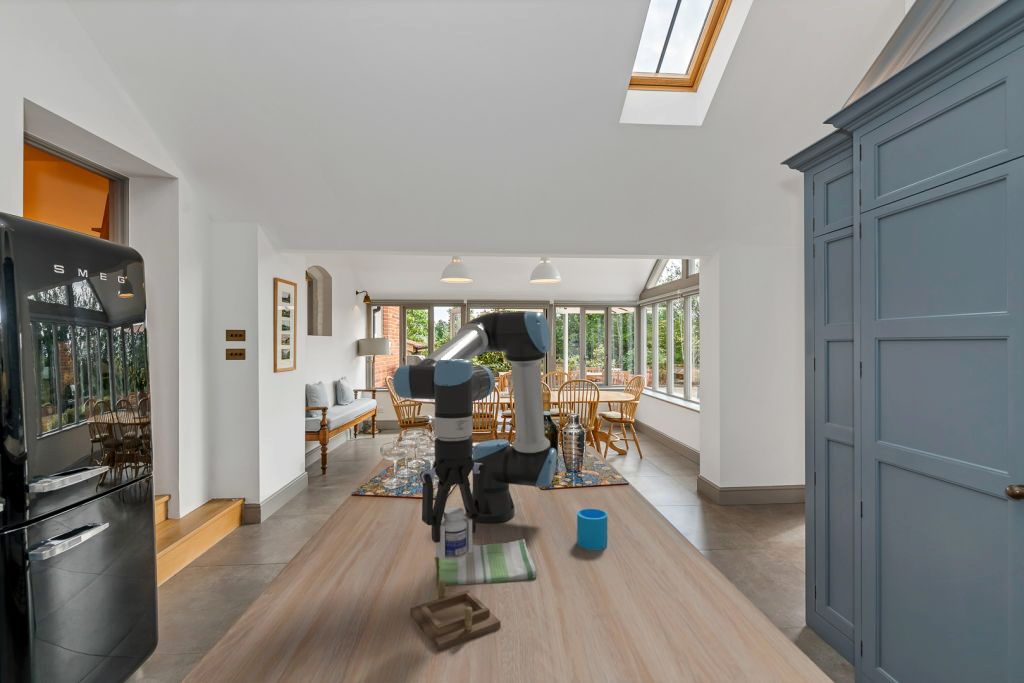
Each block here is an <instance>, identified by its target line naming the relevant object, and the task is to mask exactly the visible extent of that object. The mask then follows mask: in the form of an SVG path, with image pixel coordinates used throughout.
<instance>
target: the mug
mask: <svg viewBox="0 0 1024 683" xmlns="http://www.w3.org/2000/svg"><path fill="white" fill-rule="evenodd" d="M576 543H577V545H578V546H579V547H580V548H583V549H586V550H592V551H594V550H595V551H597V550H599V551H600V550H603V549H605V548H606V547H608V513H607V512H606V511H604V510H602V509H598V508H582V509H579V510H577V513H576Z"/></svg>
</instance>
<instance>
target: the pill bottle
mask: <svg viewBox="0 0 1024 683" xmlns="http://www.w3.org/2000/svg"><path fill="white" fill-rule="evenodd" d="M464 510H465V509H463V508H462V507H458V506H455V507H454V506H452V507H447V508H445V510H444V514H443V520H442V522H441V523H442V524H443V525H444V526H445V559H447V560H458V559H461V558H463V557H465V556H466V554H467V522H466V521H465V520H464V519H463V518H464V516H465V512H464Z"/></svg>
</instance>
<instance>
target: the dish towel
mask: <svg viewBox="0 0 1024 683" xmlns="http://www.w3.org/2000/svg"><path fill="white" fill-rule="evenodd" d="M537 575H538V574H537V570H536V566H535V564H534V561H533V559H532V557H531V554H530V552H529V550H528V548H527V544H526V540H525V538H523V539H518V540H513V541H509V542H504V543H503V542H502V543H489V544H483V545H482V544H481V545H476V544H475V545H473V544H472V552H470V553H469V552H467V554H466V556H465V557H463V558H461V559H458V560H447V559H445V560H440V559H439V558H438V581H440V580H444V581H445V584H459V585H477V583H479V584H489V583H490V584H493V583H495V584H496V583H508V582H516V581H517V582H518V581H526V580H535V578H537Z"/></svg>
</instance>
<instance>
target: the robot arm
mask: <svg viewBox="0 0 1024 683" xmlns="http://www.w3.org/2000/svg"><path fill="white" fill-rule="evenodd" d="M551 336H552V334H551V330H550V325H549V322H548V319H547V317H546V316H545V315H544V314H543V313H542V312H539V311H529V310H528V311H524V310H523V311H505V312H504V311H503V312H498V311H497V312H488V313H486V314H483V315H480V316H477V317H476V318H473V319H472V320H469V321H468V322H466V323H465V324H463V325H462V326H461V327H460V328H459V329H458V331H457V333H456V335H454V336H453V337H452V338H451V339H448V341H447V342H445V343H443V344H442V345H441V346H440V347H438V348H437V349H436V350H434V351H433V352H432V353H430V354H429V355H428V356H426V357H424V358H423V359H422V360H421V361H420V362H418V363H417V364H408V365H407V364H405V365H400V366H399V367H397V368H396V370H395V371H394V374H393V379H392V384H393V390H394V392H395V394H396V395H397V396H398V397H400V398H403V399H404V398H405V399H411V400H434V436H435V437H436V438H434V464H433V466H432V468H430V469H429V470H427V471H423V470H422V471H420V473H419V476H420V480H421V483H422V495H421V496H422V497H421V500H422V501H421V502H422V503H421V522H423V523H424V524H426V525H427V526H431V540H432V542H434V543H435V556H436V557H437V558H438V560H439V559H440V560H445V526H444V525H443V524H442V521H443V519H444V510H445V509H446V505H447V502H448V501H447V500H448V496H449V492H450V491H451V490H452V487H453V486H454V485H458V488H459V492H460V495H461V499H462V502H463V503H462V504H463V506H464V510H465V514H466V515H464V518H463V519H464V520H465V521H466V522H467V552H469V553H470V552H472V545H473V534H475V533H476V531H477V530H476V527H477V524H476V522H477V523H485V524H494V523H495V524H496V523H502V522H506V521H510V520H511V519H513V518H514V517H515V515H516V514H515V510H516V508H515V507H516V506H515V504H514V500H513V498H512V494H511V491H510V485H515V486H516V485H517V486H527V487H534V488H540V487H541V488H547V487H549V486H550V485H551V484H552V482H553V479H554V477H555V473H556V472H555V471H556V466H557V462H558V461H557V460H558V453H557V452H558V451H557V450H556V448H554V447H551V441H550V440H549V439H548V438H547V437H546V435H545V434H546V433H545V419H544V402H543V401H544V400H543V382H542V369H541V368H542V366H541V364H542V361H543V360H544V359H545V358H546V353H547V352H549V351H550V349H551V346H552V345H551V341H552V338H551ZM485 352H486V353H488V352H493V353H495V352H499V353H502V352H504V353H505V360H506V361H507V362H509V363H510V365H511V375H512V376H511V378H512V388H513V389H512V390H513V391H512V392H513V403H514V404H513V405H514V419H515V432H516V433H515V434H516V438H515V440H513V442H512V445H510V444H511V443H510V440H508V439H492V440H491V439H490V440H485V441H481V442H479V443H476V444H475V445H474V446H473V444H474V442H473V440H474V439H473V438H472V437H471V436H472V435H473V415H474V414H473V404H474V403H473V402H477V401H482V400H484V399H485V398H487V397H488V396H490V395H492V393H493V391H494V389H495V386H496V378H495V376H494V373H493V372H492V370H491V369H490V368H488V367H487V366H485V365H480V364H479V365H476V364H475V365H473V363H472V361H471V360H472V359H473V357H477V356H480V355H482V354H483V353H485ZM470 474H472V491H471V483H470V480H469V479H470V478H469V475H470ZM435 475H436V476H437V478H438V481H437V492H436V496H435V499H434V483H433V482H434V481H435Z"/></svg>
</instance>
